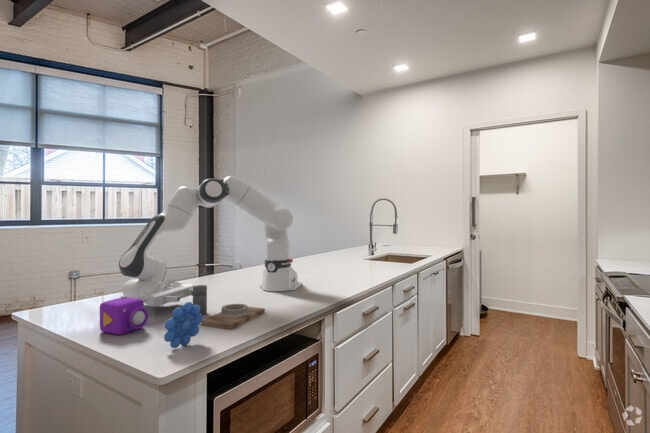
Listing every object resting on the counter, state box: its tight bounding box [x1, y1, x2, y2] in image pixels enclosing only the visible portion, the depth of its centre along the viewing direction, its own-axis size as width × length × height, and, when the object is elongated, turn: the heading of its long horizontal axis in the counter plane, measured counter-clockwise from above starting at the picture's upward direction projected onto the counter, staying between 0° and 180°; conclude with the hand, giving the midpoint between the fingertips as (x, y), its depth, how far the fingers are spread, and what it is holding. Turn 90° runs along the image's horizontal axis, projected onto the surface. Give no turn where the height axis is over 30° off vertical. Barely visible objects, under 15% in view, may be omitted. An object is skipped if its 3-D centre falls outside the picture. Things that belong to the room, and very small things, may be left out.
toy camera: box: [99, 295, 149, 336], centre depth 113 cm, size 11×14×10 cm
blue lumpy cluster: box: [163, 301, 204, 349], centre depth 101 cm, size 12×7×12 cm, turn 144°
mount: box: [200, 303, 266, 330], centre depth 126 cm, size 20×12×4 cm, turn 159°
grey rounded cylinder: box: [192, 284, 208, 316], centre depth 131 cm, size 5×5×10 cm
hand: (187, 296), depth 133 cm, fingers open, 8 cm apart
